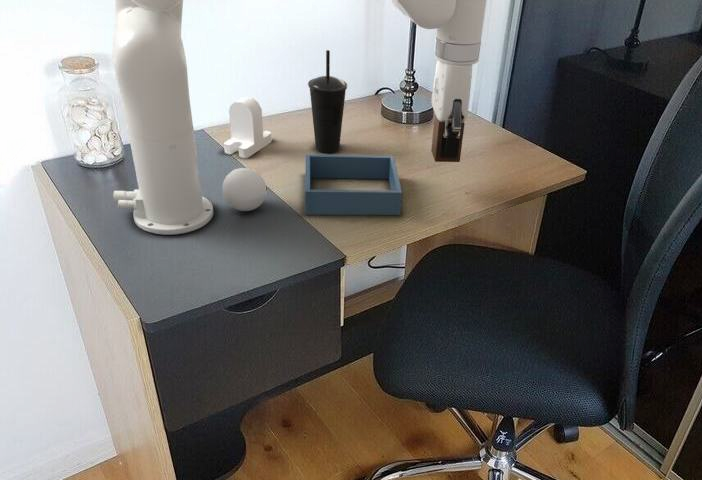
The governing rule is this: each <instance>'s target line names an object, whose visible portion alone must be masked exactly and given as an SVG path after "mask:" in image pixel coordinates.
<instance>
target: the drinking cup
mask: <svg viewBox="0 0 702 480" xmlns="http://www.w3.org/2000/svg"><path fill="white" fill-rule="evenodd" d="M330 63H331V51H330V50H328V49H327V50H326V51H325V75H322V76H317V77H314V78H311V79H310V80H309V81H308V82H307V86H308V88H309V94H310V104H311V105H310V106H311V115H312V124H313V133H314V135H313V136H314V143H315V150H316V151H318V152H319V153H324V154H334V153H337V152H339V150H340V146H341V145H340V143H341V135H342V127H343V116H344V108H345V100H346V91H347V89H348V83H347V82H346V80H343V79H341V78H338V77H336V76H333V75H331V74H330V73H331V72H330V71H331V70H330V69H331V64H330Z"/></svg>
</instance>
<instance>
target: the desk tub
mask: <svg viewBox="0 0 702 480" xmlns="http://www.w3.org/2000/svg"><path fill="white" fill-rule="evenodd" d="M304 173H305V174H304V175H305V179H304V203H305V206H304V207H305V208H304V209H305V215H306V216H307V215H315V216H316V215H318V216H319V215H321V216H323V215H324V216H326V215H327V216H331V215H334V216H335V215H336V216H401V212H402V200H403V191H402V187H401V181H400V177H399V174H398V169H397V163H396V160H395V156H394V155H352V154H351V155H348V154H347V155H345V154H305V171H304ZM311 179H358V180H360V179H363V180H364V179H365V180H366V179H367V180H388V183H389V187H390V190H379V189H377V190H376V189H375V190H373V189H372V190H371V189H369V190H368V189H365V190H364V189H311Z"/></svg>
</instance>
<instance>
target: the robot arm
mask: <svg viewBox="0 0 702 480" xmlns="http://www.w3.org/2000/svg"><path fill="white" fill-rule="evenodd" d="M390 2H391V3H392V5H393V6H394V7H395V8H396V9H397V10H398V11H399V12H400V13H402V14H403V15H404V16H405V17H407V18H408V19H409V20H410V21H411V22H413V23H414V24H415V25H417V26H418V27H419V28H422V29H425V30H436V31H435V40H434V41H435V42H434V53H433V58H434V59H435V60H436V64H435V65H436V66H435V72H434V79H433V87H432V94H431V106H432V109H433V112H434V115H435V114H436V117H437V119H438V120H439V121H440V122H443V121H444V134H443V136H441V146H440V157H441V158H457V156H458V148H459V140H460V130H461V122H464V123H465V122H466V120H467V119H468V113H469V106H470V98H471V89H472V88H471V87H472V78H473V77H472V75H473V65H475V64H478V62H479V60H480V59H479V58H480V52H481V44H482V35H483V28H484V20H485V13H486V6H487V0H390ZM183 7H184V0H114V31H113V33H114V34H113V39H112V40H113V42H112V59H113V68H114V73H115V77H116V82H117V87H118V91H119V94H120V99H121V104H122V109H123V113H124V119H125V125H126V129H127V134H128V139H129V144H130V150H131V154H132V160H133V165H134V172H135V176H136V177H135V178H136V181H137V187H138V189H137V188H135V189H133V191H129V190H128V191H127V190H114V191H113V201H114V203H117V208H118V209H133V211H132V212H133V213H132V215H133V220H134V223H135V225H136V226H137V227H138V228H140V229H141V230H143V231H146V232H148V233H151V234H156V235H166V236H167V235H171V236H172V235H180V234H181V235H182V234H187V233H190V232H193V231H196V230H199V229H201V228H202V227H204V226H205V225H207V224H208V223H209V222H210V221H211V220H212V218H213V216H214V207H213V204H212V201H210V200H209V199H207V198H206V197H204V196H203V194H202V186H201V179H200V169H199V163H198V153H197V145H196V137H195V130H194V129H195V128H194V123H193V113H192V105H191V99H190V87H189V76H188V65H187V58H186V52H185V47H184V44H183V39H182V21H183ZM449 116H452V119H448V117H449ZM448 123H451V124H452V126H450V127H449V128H448Z"/></svg>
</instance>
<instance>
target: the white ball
mask: <svg viewBox="0 0 702 480" xmlns="http://www.w3.org/2000/svg"><path fill="white" fill-rule="evenodd" d="M266 184H267V183H266V181H265V180H264V178H263V177H262V175H261V174H260V173H259V172H257V171H256V170H254V169H252V168H248V167H240V168H235V169H233V170H232V171H230V172H229V173H228V174H227V173H226V176H225V178H224V180H223V183H222V187H221V192H222V195H223V198H224V201H225V202H227V204H228V205H229V206H230V207H231V208H232V209H235V210H237V211H240V212H250V211H253V210H256V209H258V208H259V207H260V206H261V205H262V204H263V202H264V201H265V199H266V195H267V191H268V187H267V185H266Z"/></svg>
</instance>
